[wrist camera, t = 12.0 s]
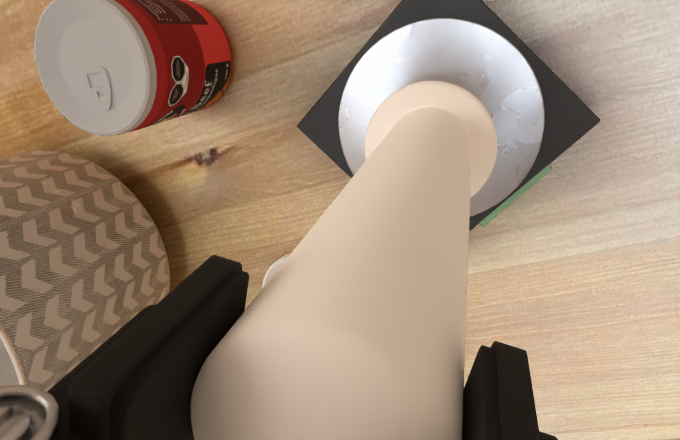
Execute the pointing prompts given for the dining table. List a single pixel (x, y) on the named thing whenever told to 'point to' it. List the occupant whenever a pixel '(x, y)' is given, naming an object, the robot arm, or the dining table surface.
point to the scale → (464, 71)
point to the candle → (366, 294)
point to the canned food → (130, 61)
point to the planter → (69, 263)
